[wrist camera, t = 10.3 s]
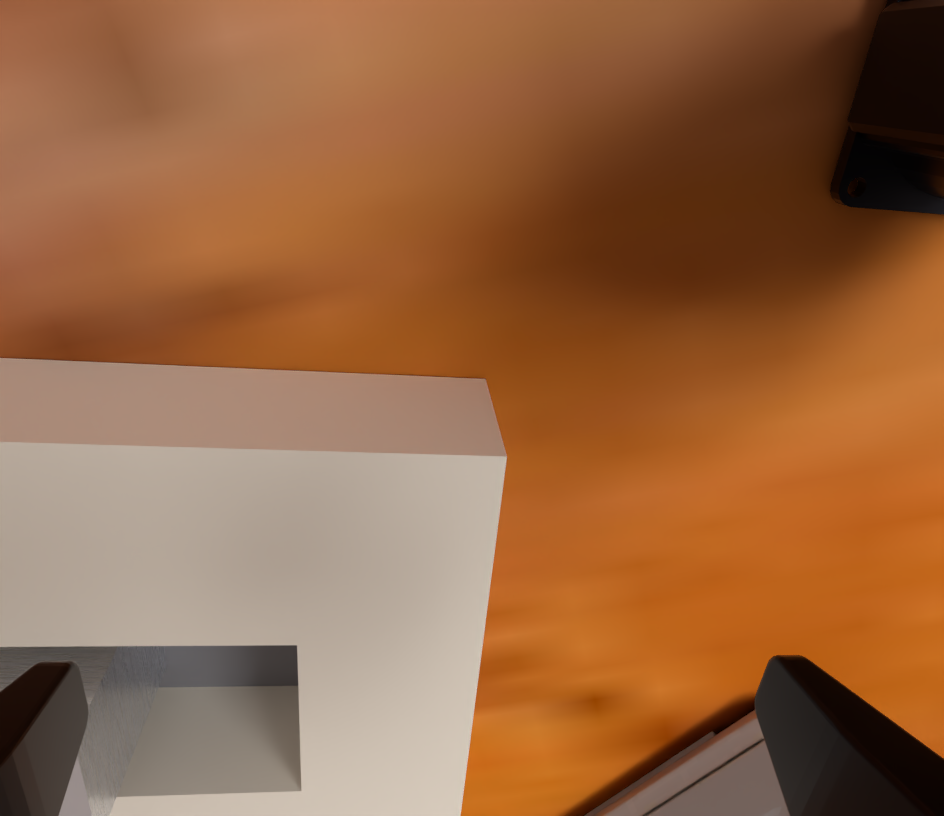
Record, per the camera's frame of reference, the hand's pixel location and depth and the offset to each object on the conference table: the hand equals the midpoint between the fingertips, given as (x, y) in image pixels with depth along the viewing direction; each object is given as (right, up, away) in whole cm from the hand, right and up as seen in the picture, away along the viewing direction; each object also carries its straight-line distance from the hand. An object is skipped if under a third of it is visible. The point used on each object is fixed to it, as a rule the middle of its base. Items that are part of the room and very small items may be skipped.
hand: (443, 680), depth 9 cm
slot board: (-12, -3, +14) cm, 19 cm away
